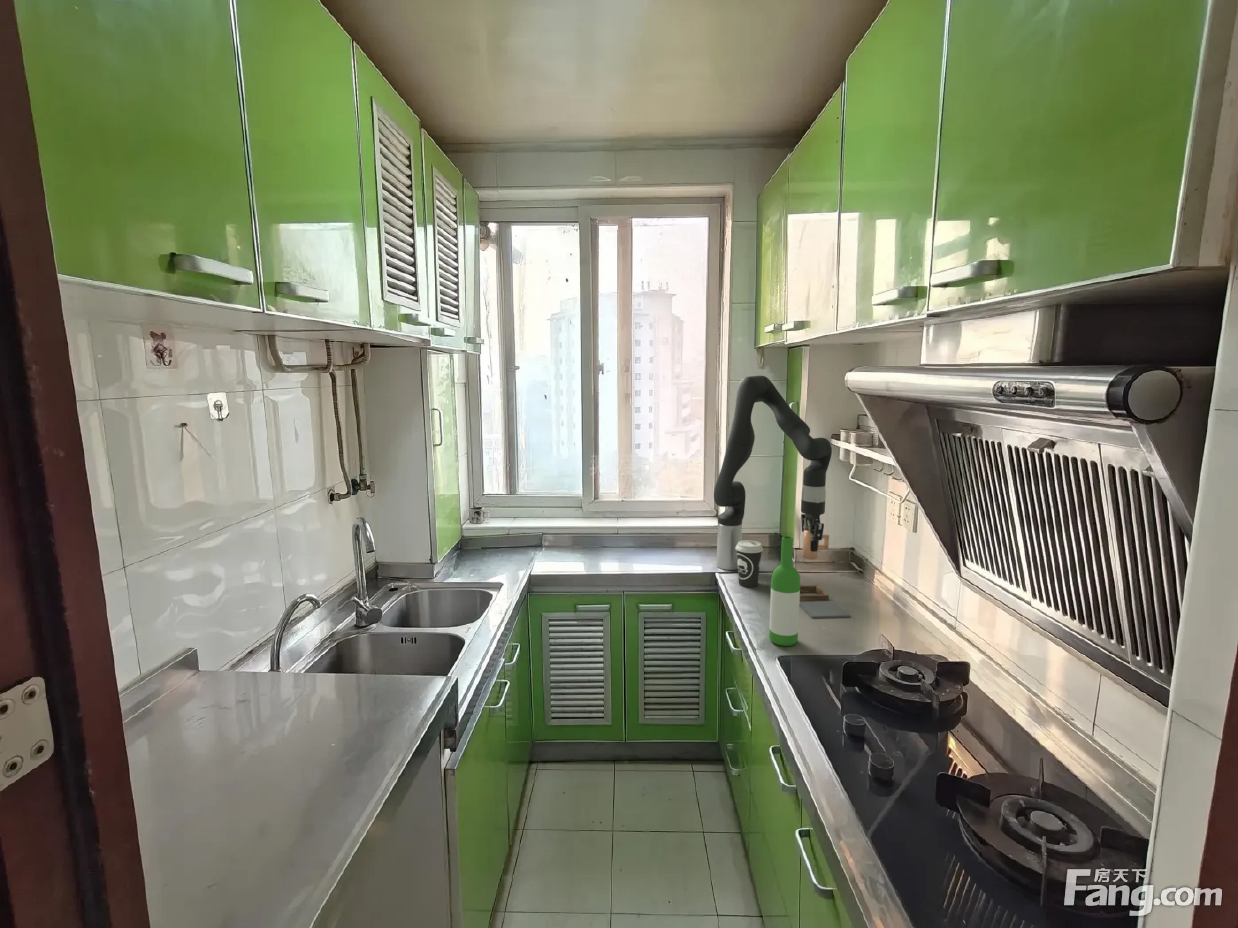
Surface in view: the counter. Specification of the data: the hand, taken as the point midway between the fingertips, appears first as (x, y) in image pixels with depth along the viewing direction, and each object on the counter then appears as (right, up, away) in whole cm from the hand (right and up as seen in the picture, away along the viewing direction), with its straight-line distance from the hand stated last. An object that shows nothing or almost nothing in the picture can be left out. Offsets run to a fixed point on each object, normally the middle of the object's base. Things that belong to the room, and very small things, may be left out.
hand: (810, 548), depth 201 cm
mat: (+1, -18, -9) cm, 21 cm away
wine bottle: (-18, -22, -32) cm, 42 cm away
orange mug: (+2, -3, +1) cm, 3 cm away
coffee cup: (-18, -15, +14) cm, 27 cm away
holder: (0, -16, +2) cm, 17 cm away
